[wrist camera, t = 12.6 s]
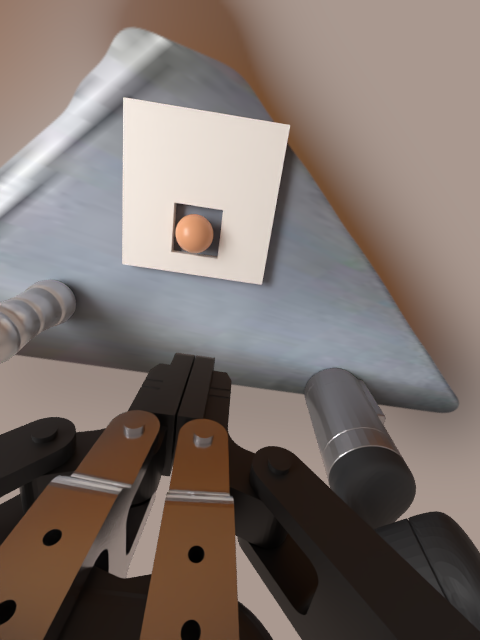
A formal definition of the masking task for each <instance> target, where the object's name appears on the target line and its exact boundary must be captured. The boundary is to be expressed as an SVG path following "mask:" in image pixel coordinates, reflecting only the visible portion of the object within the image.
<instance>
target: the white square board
mask: <svg viewBox="0 0 480 640" xmlns="http://www.w3.org/2000/svg"><path fill="white" fill-rule="evenodd" d="M289 129H290V125H286V124H280V123H274V122H268V121H262V120H256V119H250V118H244V117H238V116H232V115H226V114H220V113H214V112H208V111H202V110H196V109H190V108H184V107H178V106H172V105H166V104H160V103H154V102H148V101H142V100H136V99H130V98H124V97H123V253H122V264H125V265H132V266H139V267H146V268H152V269H159V270H166V271H173V272H179V273H186V274H193V275H200V276H206V277H213V278H220V279H227V280H233V281H240V282H247V283H254V284H260V285H262V281H263V275H264V270H265V264H266V258H267V253H268V247H269V242H270V236H271V230H272V225H273V219H274V213H275V208H276V202H277V197H278V191H279V185H280V180H281V174H282V169H283V163H284V157H285V152H286V146H287V141H288V135H289ZM177 203H181V204H187V205H194V206H200V207H206V208H213V209H219V210H223V217H222V226H221V234H220V242H219V251H218V257H216V256H210V255H203V254H197V253H190V252H183V251H177V250H174V235H175V220H176V205H177Z"/></svg>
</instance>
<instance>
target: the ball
mask: <svg viewBox="0 0 480 640" xmlns="http://www.w3.org/2000/svg"><path fill="white" fill-rule="evenodd" d="M175 234H176V239H177V242H178V244H179V245H180V246H181V247H182V248H183V249H184V250H185V251H187V252H190V253H200V252H203V251H205V250H206V249H207V248H208V247H209V246H210V245H211V243H212V240H213V228H212V226H211V224H210V222H209V221H208V220H207V219H206V218H204V217H203V216H200V215H197V214H191V215H187V216H185V217H183V218H182V219H181V220H180V221H179V223H178V224H177V227H176V232H175Z"/></svg>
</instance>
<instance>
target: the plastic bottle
mask: <svg viewBox="0 0 480 640" xmlns="http://www.w3.org/2000/svg"><path fill="white" fill-rule="evenodd" d="M75 309H76V300H75V296H74V294H73V292H72V291H71V289H70V288H69V287H68V286H66V285H65V284H63V283H62V282H60V281H57V280H43V281H38V282H36V283H34V284H33V285H31V286H30V287H29V288H28V289H26V290H25V291H24V292H22V293H20V294H19V295H17V296H15V297H14V298H11V299H8V300H5V301H2V302H0V363H3V362H6V361H8V360H9V359H10V358H11V357H13V356H14V355H15V354H16V353H17V352H18V351H19V350H20V349H21V348H22V347H23V346H24V345H25V344H26V343H27V342H28V341H30V340H31V339H32V338H34V337H35V336H36V335H38V334H39V333H40V332H42V331H44V330H46V329H48V328H50V327H53V326H57V325H59V324H61V323H64V322H66V321H67V320H68V319H69V318H70V317H71V316H72V314H73V313H74V311H75Z"/></svg>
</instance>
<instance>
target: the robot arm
mask: <svg viewBox="0 0 480 640" xmlns="http://www.w3.org/2000/svg"><path fill="white" fill-rule="evenodd" d="M214 363H215V358H211V357H204V356H196V358H195V355H189V354H182V353H176V354H175V356H174V358H173V360H172V362H171V365H167V364H158V365H157V366H155V367H154V368H153V369H151V370H150V371H149V373H148V375H147V377H146V380H145V381H144V382H143V384H142V387H141V388H140V390H139V392H138V394H137V395H136V397H135V399H134V401H133V403H132V404H131V406H130V408H129V410H128V411H127V412H124V413H122V414H119V415H118V416H116V417H115V418H114V419H112V421H111V422H110V423H109V425H108V426H107V427H106V428H105V429H101V430H94V431H85V432H76V429H75V426H74V424H73V423H72V422H71V421H69V420H67V419H65V418H60V417H49V418H43V419H39V420H37V421H34V422H31V423H29V424H26V425H24V426H21V427H19V428H16V429H14V430H11V431H9V432H6V433H4V434H1V435H0V497H2V496H4V495H5V494H8V493H10V492H11V491H13V490H15V489H17V488H20V494H19V495H17V496H15V497H14V498H12V499H10V500H8V501H6V502H4V503H2V504H0V640H273V639H272V637H271V636H270V634H269V633H268V631H267V630H266V629H265V627H264V626H263V625H262V623H261V622H260V621H259V620H258V619H257V617H256V616H255V615H254V614H253V613H252V612H251V611H250V610H249V609H247V608H246V607H245V606H244V605H243V604H242V603H240V602H239V601H238V597H237V596H238V595H237V569H236V543H235V535H236V536H237V537H238V542H239V545H240V547H241V548H242V550H243V552H244V553H245V555H246V556H247V557H248V559H249V561H250V562H251V563H252V565H253V567H254V568H255V570H256V571H257V573H258V574H259V576H260V577H261V579H262V580H263V582H264V583H265V585H266V586H267V588H268V589H269V591H270V592H271V594H272V595H273V596H274V598H275V600H276V601H277V603H278V604H279V606H280V607H281V609H282V610H283V612H284V613H285V615H286V616H287V618H288V619H289V621H290V622H291V624H292V625H293V627H294V628H295V630H296V631H297V633H298V634H299V636H300V637H301V639H302V640H480V553H479V551H478V550H477V548H476V547H475V545H474V544H473V542H472V541H471V540H470V538H469V537H468V535H467V534H466V533H465V532H464V530H463V529H462V528H461V527H460V526H459V525H458V524H457V523H456V522H455V521H454V520H453V519H452V518H451V517H449V516H448V515H446V514H444V513H442V512H428V513H423V514H419V515H416V516H413V517H410V518H408V519H409V521H408V519H403V520H400V521H397V522H395V521H396V520H397V519H398V518H399V517H400V516H401V515H402V514H403V513H405V511H406V510H407V509H408V508H409V507H410V505H411V504H412V502H413V500H414V497H415V492H416V485H415V480H414V477H413V475H412V473H411V471H410V469H409V468H408V466H407V464H406V463H405V461H404V459H403V457H402V456H401V454H400V452H399V451H398V449H397V447H396V446H395V444H394V442H393V441H392V439H391V437H390V436H389V434H388V432H387V430H386V429H385V427H384V425H383V424H384V422H385V416H384V414H383V413H382V411H381V409H380V407H379V406H378V404H377V403H376V401H375V399H374V398H373V396H372V395H371V393H370V391H369V390H368V388H367V386H366V385H365V383H364V382H363V380H360V379H357V378H355V377H354V376H353V375H352V374H351V373H350V372H348V371H346V370H343V369H338V368H330V369H325V370H322V371H320V372H318V373H316V374H315V375H313V376H312V377H311V378H310V379H309V381H308V382H307V384H306V387H305V392H304V394H305V400H306V404H307V407H308V410H309V414H310V418H311V421H312V425H313V428H314V432H315V435H316V439H317V443H318V446H319V449H320V453H321V456H322V460H323V464H324V467H325V471H326V474H327V478H328V481H329V485H330V488H331V489H330V488H329V487H328V486H327V485H326V484H325V483H324V482H323V481H322V480H321V479H320V478H319V477H318V476H317V475H316V474H314V472H313V471H311V469H309V468H308V467H307V466H306V465H305V464H304V463H303V462H302V461H301V460H300V459H299V458H298V457H297V456H296V455H295V454H293V453H292V452H290V451H288V450H286V449H284V448H281V447H275V446H268V447H264V448H262V449H260V450H258V451H257V452H256V453H252V452H250V451H248V450H245V449H243V448H241V447H240V446H238V445H237V444H236V443H234V441H233V440H232V439H231V437H230V436H229V433H228V417H229V406H230V394H231V382H232V381H231V379H230V377H229V376H228V374H227V373H226V372H218V371H214ZM172 466H173V469H172ZM171 470H172V475H171V481H170V486H169V492H167V495H166V499H165V504H164V509H163V515H162V520H161V526H160V532H159V537H158V542H157V548H156V553H155V559H154V564H153V570H152V574H150V575H144V576H138V577H133V578H126V576H127V572H128V569H129V565H130V562H131V560H132V557H133V555H134V552H135V549H136V547H137V544H138V542H139V539H140V536H141V534H142V531H143V529H144V526H145V524H146V521H147V518H148V516H149V513H150V511H151V508H152V506H153V503H154V500H155V495H156V490H157V487H158V484H159V481H160V478H161V475H163V476H170V474H171Z"/></svg>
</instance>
